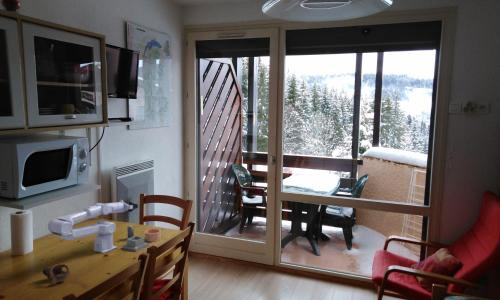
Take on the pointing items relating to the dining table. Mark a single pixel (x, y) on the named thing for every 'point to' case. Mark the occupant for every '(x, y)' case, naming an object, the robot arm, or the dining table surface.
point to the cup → (153, 235)
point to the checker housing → (135, 243)
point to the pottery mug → (56, 272)
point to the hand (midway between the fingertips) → (132, 205)
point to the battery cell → (130, 231)
